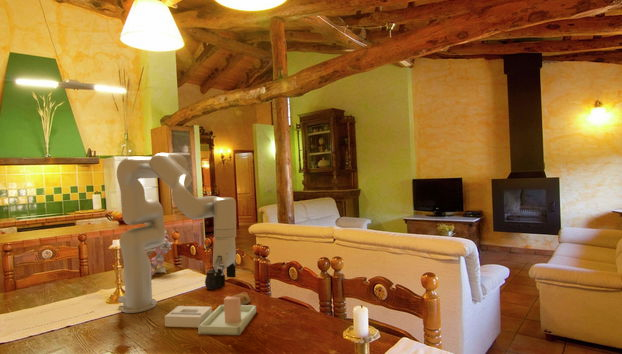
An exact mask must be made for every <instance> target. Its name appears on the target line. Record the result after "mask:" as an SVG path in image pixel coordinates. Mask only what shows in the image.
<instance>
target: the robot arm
mask: <svg viewBox="0 0 622 354" xmlns="http://www.w3.org/2000/svg"><path fill="white" fill-rule="evenodd" d="M188 165H189V164H188V160H187V159H186V157H185V156H184V155H182V154H180V153H175V152H174V153H173V152H160V153H159V152H158V153H156V154H154V155H153V156H130V157H126V158H123V159H122V160H121V161H120V162H119V164H118V165H117V168H116V178H117V179H116V180H117V183H118V185H119V191H120V192H119V193H120V203H121V205H120V206H121V217H122V221H123V222H124V223H125V225H126V224H127V225H129V226H133V225H134V226H135V225H141V224H145V225H144V226H140V227H139V226H138V227H133V228H130V229H126V231H124V232H123V233H122V234H121V235H120V238H119V246H120V250H121V254H122V261H123V273H124V274H123V275H124V276H123V277H124V293H125V295H120V296H119V297H118V299H117V303H118V304H119V303H122V306H121V312H123V313H125V314H136V313H143V312H145V311H148V310H151V309H153V308H155V307H156V306H157V303H158V302H157V299H155V298H153V286H152V284H153V283H152V276H151V272H152V271H151V263H150V261H151V258H150V256H148V255H147V254H146V252H145V251H146V250H147V249H151V248H155V247H158V246H160V245H161V244H162V243H163V242H164V239H165V235H166V233H165V229H166V228H165V217H164V216H165V214H164V208H163V205H162V204H161V203H160V202H159V200H157V199H154V198H147V199H146V193H145V188H144V186H143V184H142V183H141V181H140V180H141V179H157V178H158V179H160V180H161V181H162V182H163V183H164V184H166V186H167V187H169V188H170V190H171V196H172V200H173V203H174V205H175V207H176V208H177V209H178V210H179V211H180V212H181V213H182V214H183V215H184V216H185V217H187V218H189V220H190V219H191V220H194V221H197V220H201V219H207V218H213V238H214V241H213V250H212V267H213V269H214V272H215V286H216V287H219V288H224V287H226V277H227V278H232V279H233V278H236V273H237V272H236V265H237V264H236V263H237V262H236V261H237V249H236V245H237V244H236V237H237V202H236V199H235V198H234V197H227V196H223V197H220V196H215V195H208V196H207V195H206V196H199V197H196V196H194V195H193V194H192V193H191V192H190V191H189V190H188V189H187V188H188V187H189V186H190V185H191V182H192V179H193V178H192V175H191V173H189V171H187V170H188ZM139 179H140V180H139ZM225 271H226V275H225Z"/></svg>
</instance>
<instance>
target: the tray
mask: <svg viewBox="0 0 622 354" xmlns="http://www.w3.org/2000/svg"><path fill="white" fill-rule="evenodd" d="M256 313H257V305H254V304H253V305H250V304H248V305H247V304H245V305H241V320H240V321H239V322H225V313H224V304H220V305H219V306H217V308H216V309H215V310H214V311H212V313H211V314H210V315H209V316H208V317H207V318H206V319H205V320H204V321H203V322H202V323H201V324H200V325H199V326H198V327H197V330H198V331H197V332H198V335H219V336H222V335H224V336H240V335H241V334H242V332H243V331H244V330H245V328H247V326H248V325H249V323H251V322H250V321H251V320H252V319H253V318H254V316H255V315H256Z"/></svg>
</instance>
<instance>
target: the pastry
mask: <svg viewBox="0 0 622 354" xmlns="http://www.w3.org/2000/svg"><path fill="white" fill-rule="evenodd" d="M232 297H240V302H241V305H247V304H249V303H250V302H251V298H250V296H249V293H247V292H245V291H244V292H241V293H238V294H235V295H233V296H232Z"/></svg>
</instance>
